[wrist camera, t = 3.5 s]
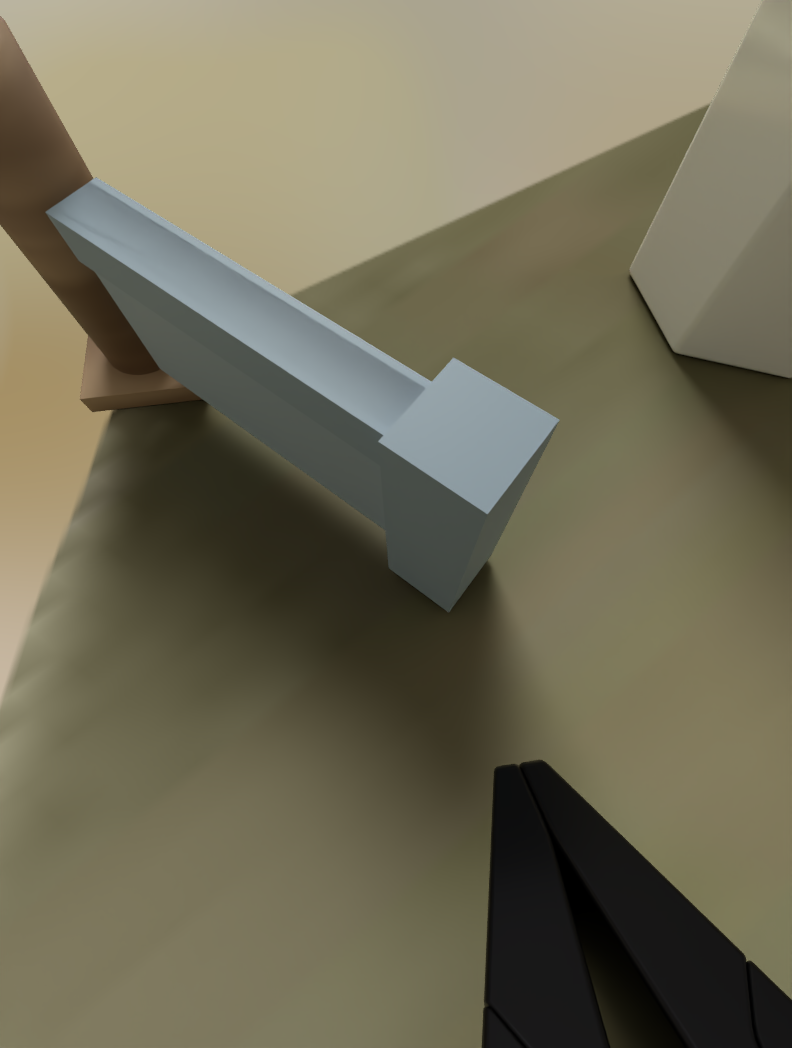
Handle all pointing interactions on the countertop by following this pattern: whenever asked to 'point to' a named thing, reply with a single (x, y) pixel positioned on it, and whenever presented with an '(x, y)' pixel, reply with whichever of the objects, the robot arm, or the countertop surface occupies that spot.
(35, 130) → the hinge post
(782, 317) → the jar
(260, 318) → the gate
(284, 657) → the countertop surface
